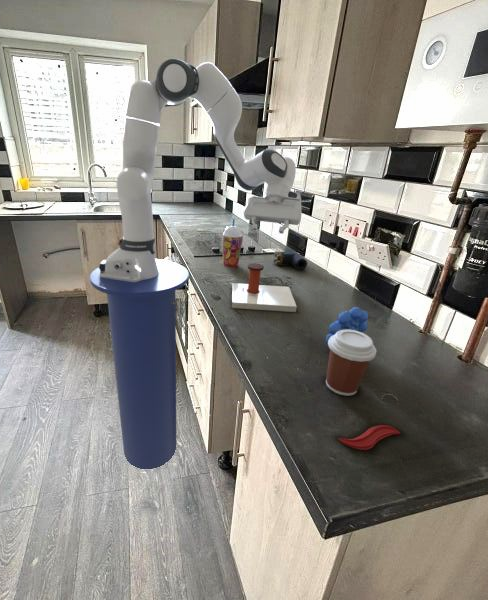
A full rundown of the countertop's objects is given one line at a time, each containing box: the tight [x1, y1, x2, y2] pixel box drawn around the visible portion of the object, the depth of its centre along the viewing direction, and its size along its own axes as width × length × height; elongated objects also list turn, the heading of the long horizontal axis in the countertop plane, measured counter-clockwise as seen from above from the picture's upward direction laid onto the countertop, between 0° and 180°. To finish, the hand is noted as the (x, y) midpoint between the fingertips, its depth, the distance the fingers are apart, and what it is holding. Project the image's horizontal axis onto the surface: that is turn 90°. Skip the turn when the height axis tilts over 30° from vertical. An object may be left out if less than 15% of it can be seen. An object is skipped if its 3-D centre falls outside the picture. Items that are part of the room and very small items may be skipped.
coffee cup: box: [325, 329, 378, 397], centre depth 67 cm, size 9×9×12 cm
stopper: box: [247, 263, 265, 294], centre depth 108 cm, size 5×5×11 cm
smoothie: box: [222, 218, 244, 269], centre depth 134 cm, size 8×8×20 cm
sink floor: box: [231, 283, 298, 313], centre depth 108 cm, size 20×16×2 cm
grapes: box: [325, 306, 369, 345], centre depth 80 cm, size 12×7×12 cm, turn 109°
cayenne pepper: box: [337, 424, 401, 451], centre depth 56 cm, size 12×5×2 cm, turn 93°
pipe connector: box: [272, 248, 308, 271], centre depth 141 cm, size 12×5×15 cm
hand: (267, 230), depth 112 cm, fingers open, 8 cm apart
